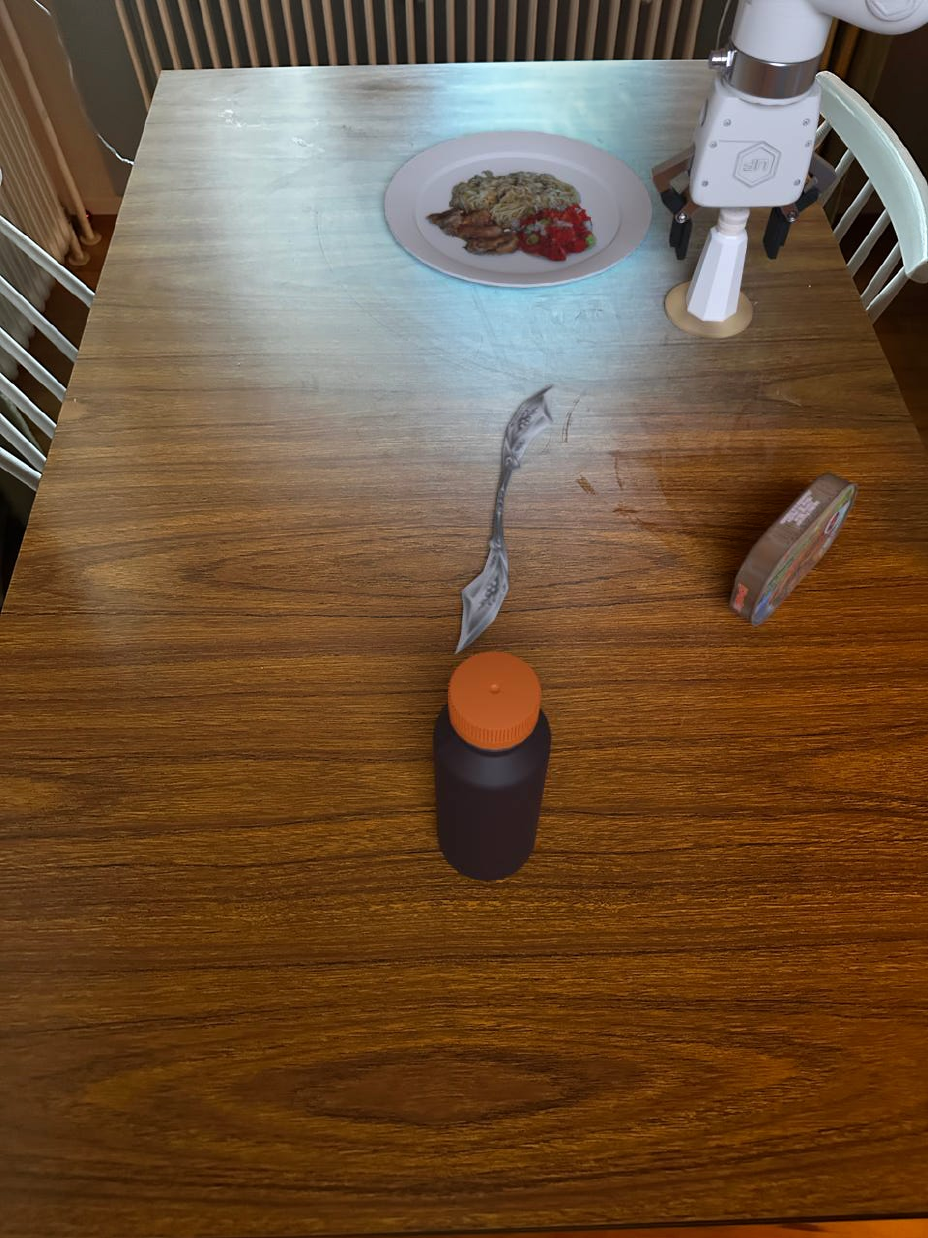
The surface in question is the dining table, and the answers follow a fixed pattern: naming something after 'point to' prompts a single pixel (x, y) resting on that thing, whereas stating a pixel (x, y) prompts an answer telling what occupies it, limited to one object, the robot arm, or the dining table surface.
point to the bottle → (490, 765)
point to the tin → (791, 547)
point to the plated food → (518, 209)
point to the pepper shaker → (720, 268)
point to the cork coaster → (706, 329)
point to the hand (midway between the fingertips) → (723, 250)
